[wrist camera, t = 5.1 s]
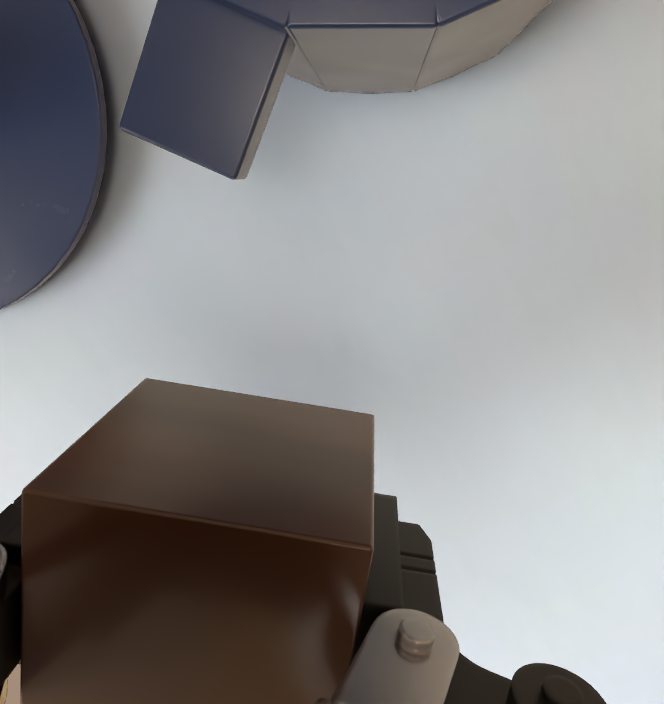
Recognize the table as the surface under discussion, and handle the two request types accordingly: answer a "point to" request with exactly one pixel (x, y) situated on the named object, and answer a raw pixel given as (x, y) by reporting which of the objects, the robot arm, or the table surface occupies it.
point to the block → (198, 552)
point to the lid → (46, 140)
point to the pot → (295, 62)
